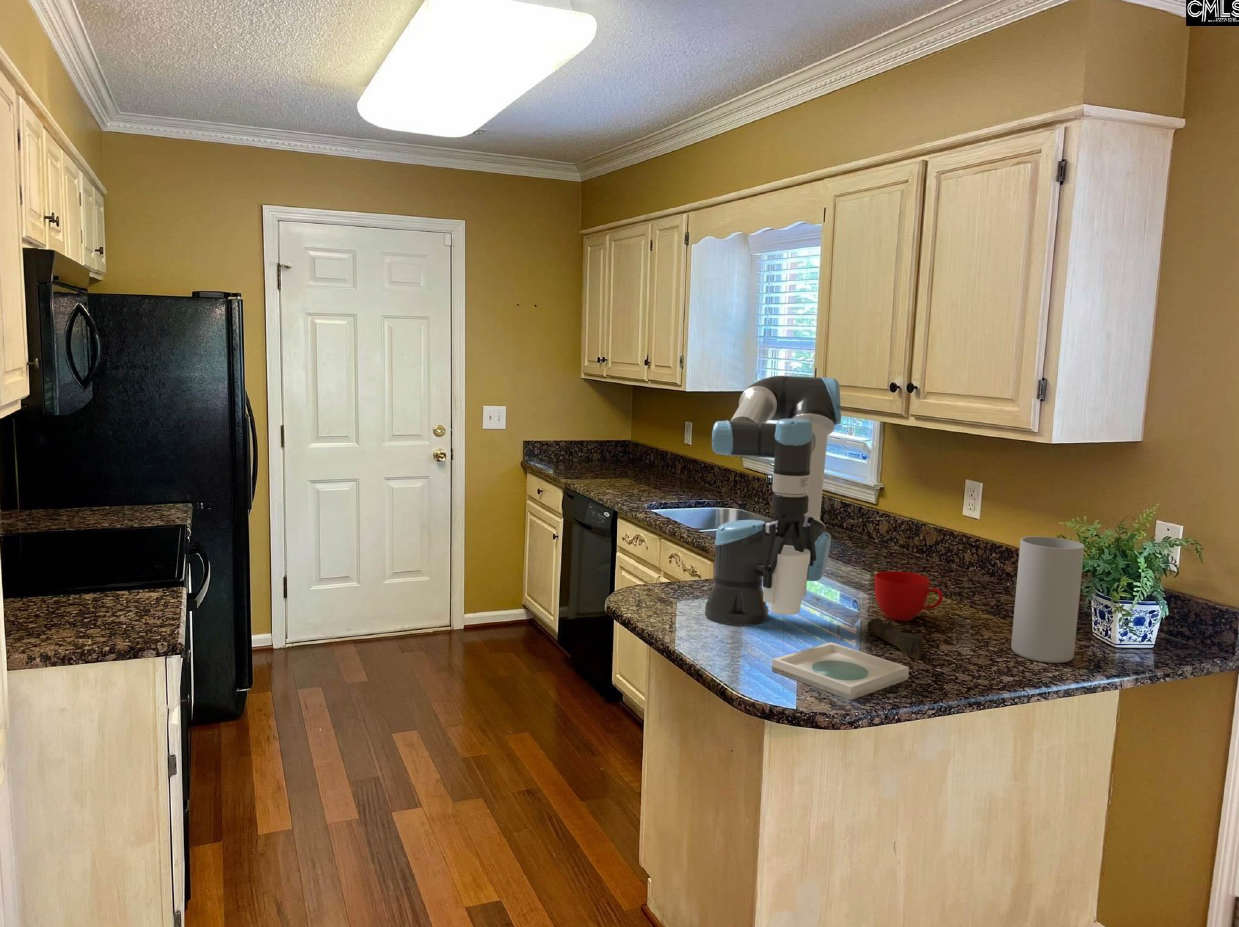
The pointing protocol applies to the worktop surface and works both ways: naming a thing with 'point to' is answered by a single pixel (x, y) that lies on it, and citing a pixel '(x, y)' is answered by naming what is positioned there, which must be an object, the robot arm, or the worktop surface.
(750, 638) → the worktop surface
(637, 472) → the worktop surface
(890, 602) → the ceramic cup
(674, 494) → the worktop surface
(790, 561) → the foam cup
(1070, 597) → the cylinder vase
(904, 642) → the hand tool
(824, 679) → the square white tray
